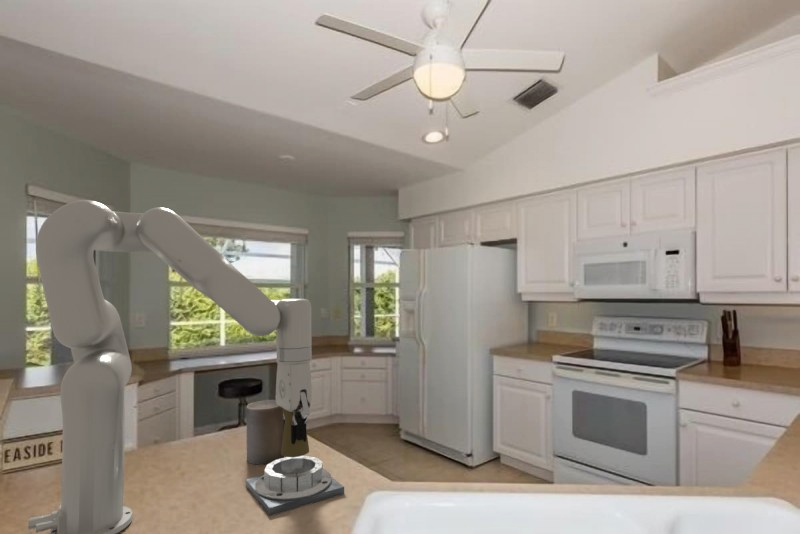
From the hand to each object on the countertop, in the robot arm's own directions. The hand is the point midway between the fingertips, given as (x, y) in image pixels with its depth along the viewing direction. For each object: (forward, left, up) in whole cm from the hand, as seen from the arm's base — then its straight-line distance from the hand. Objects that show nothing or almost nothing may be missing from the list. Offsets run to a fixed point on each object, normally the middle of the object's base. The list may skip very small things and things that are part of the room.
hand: (294, 439), depth 98 cm
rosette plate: (0, 0, -11) cm, 11 cm away
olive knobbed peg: (0, 0, -3) cm, 3 cm away
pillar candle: (+1, +23, -11) cm, 25 cm away
